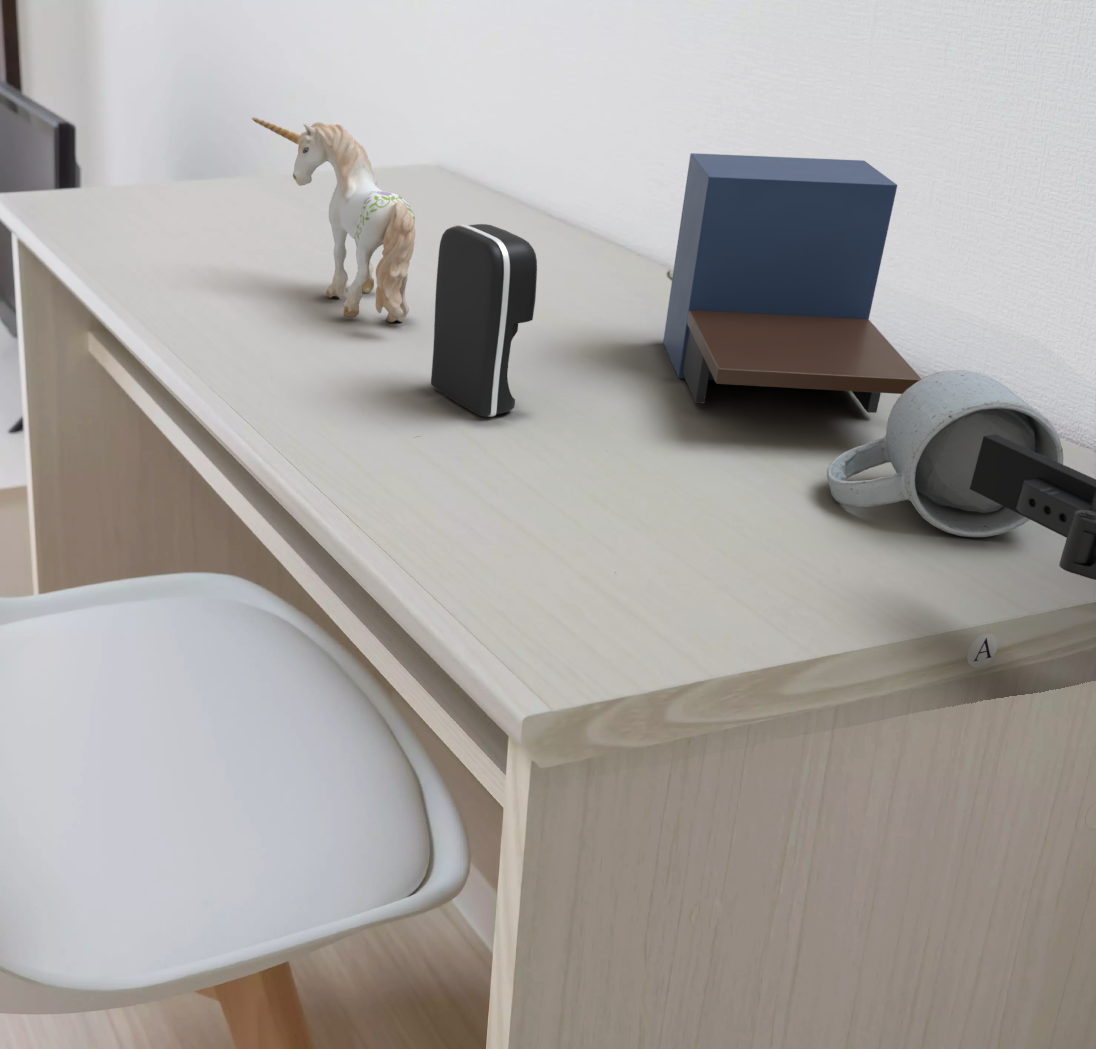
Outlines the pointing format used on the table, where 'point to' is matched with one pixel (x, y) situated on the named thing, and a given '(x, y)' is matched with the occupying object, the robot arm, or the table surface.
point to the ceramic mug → (944, 452)
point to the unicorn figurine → (358, 217)
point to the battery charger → (480, 313)
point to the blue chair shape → (782, 277)
